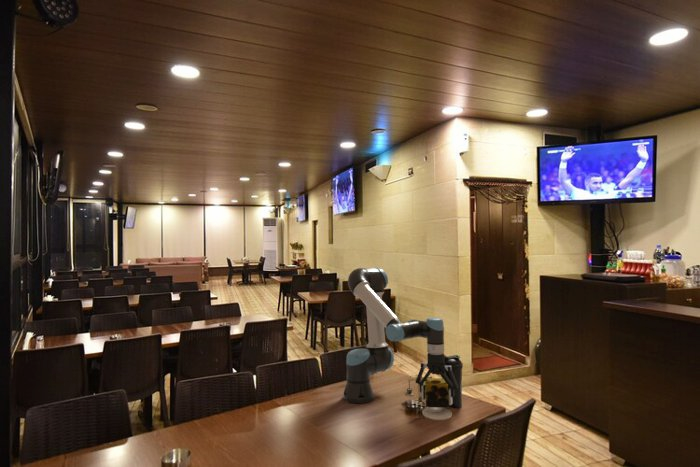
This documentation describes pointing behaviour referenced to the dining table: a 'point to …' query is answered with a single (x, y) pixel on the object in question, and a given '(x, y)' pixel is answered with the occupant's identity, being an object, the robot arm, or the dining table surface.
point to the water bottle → (457, 372)
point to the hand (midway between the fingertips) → (437, 401)
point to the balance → (410, 393)
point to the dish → (437, 413)
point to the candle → (436, 393)
